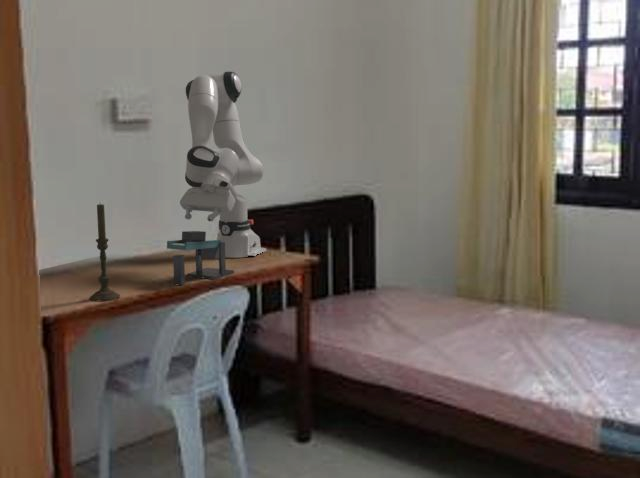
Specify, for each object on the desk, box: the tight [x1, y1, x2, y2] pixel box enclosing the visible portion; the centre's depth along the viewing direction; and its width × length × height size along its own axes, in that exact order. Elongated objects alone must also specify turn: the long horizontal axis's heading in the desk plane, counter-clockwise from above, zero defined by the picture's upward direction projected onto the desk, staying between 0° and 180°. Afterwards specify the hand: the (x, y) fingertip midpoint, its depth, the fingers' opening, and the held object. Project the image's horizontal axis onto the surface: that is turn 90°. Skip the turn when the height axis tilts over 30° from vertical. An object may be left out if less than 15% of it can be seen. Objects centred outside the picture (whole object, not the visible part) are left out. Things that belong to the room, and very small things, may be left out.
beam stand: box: [172, 242, 235, 286], centre depth 281 cm, size 25×12×12 cm, turn 152°
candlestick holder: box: [89, 202, 121, 302], centre depth 251 cm, size 9×9×30 cm
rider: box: [181, 230, 207, 244], centre depth 277 cm, size 4×4×8 cm
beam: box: [166, 239, 221, 259], centre depth 280 cm, size 23×9×6 cm, turn 152°
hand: (198, 219), depth 279 cm, fingers open, 8 cm apart
